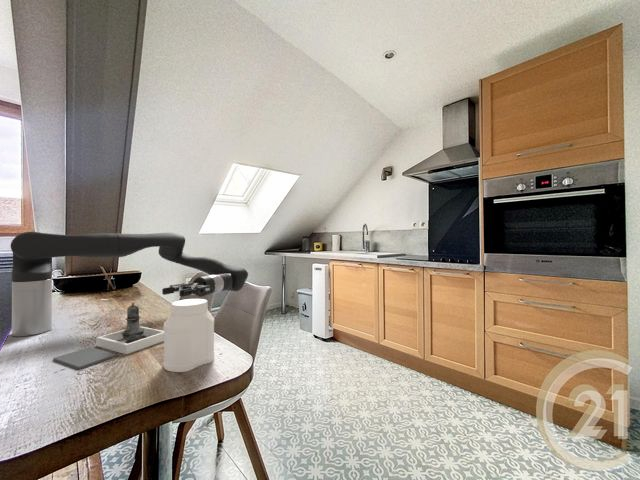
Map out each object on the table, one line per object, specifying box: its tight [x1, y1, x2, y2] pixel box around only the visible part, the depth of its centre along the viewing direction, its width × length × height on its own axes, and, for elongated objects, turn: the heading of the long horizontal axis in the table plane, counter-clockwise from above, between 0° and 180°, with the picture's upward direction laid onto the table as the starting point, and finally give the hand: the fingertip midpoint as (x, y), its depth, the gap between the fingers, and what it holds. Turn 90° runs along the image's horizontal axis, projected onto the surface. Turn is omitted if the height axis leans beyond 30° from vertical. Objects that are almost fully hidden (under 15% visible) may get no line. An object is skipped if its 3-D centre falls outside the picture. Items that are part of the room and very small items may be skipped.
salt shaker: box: [121, 302, 145, 344], centre depth 82 cm, size 6×6×12 cm
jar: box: [162, 298, 215, 373], centre depth 70 cm, size 12×10×15 cm
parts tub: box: [95, 325, 164, 355], centre depth 82 cm, size 14×12×2 cm
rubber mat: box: [53, 346, 117, 370], centre depth 71 cm, size 12×8×1 cm, turn 65°
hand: (171, 292), depth 94 cm, fingers open, 8 cm apart
